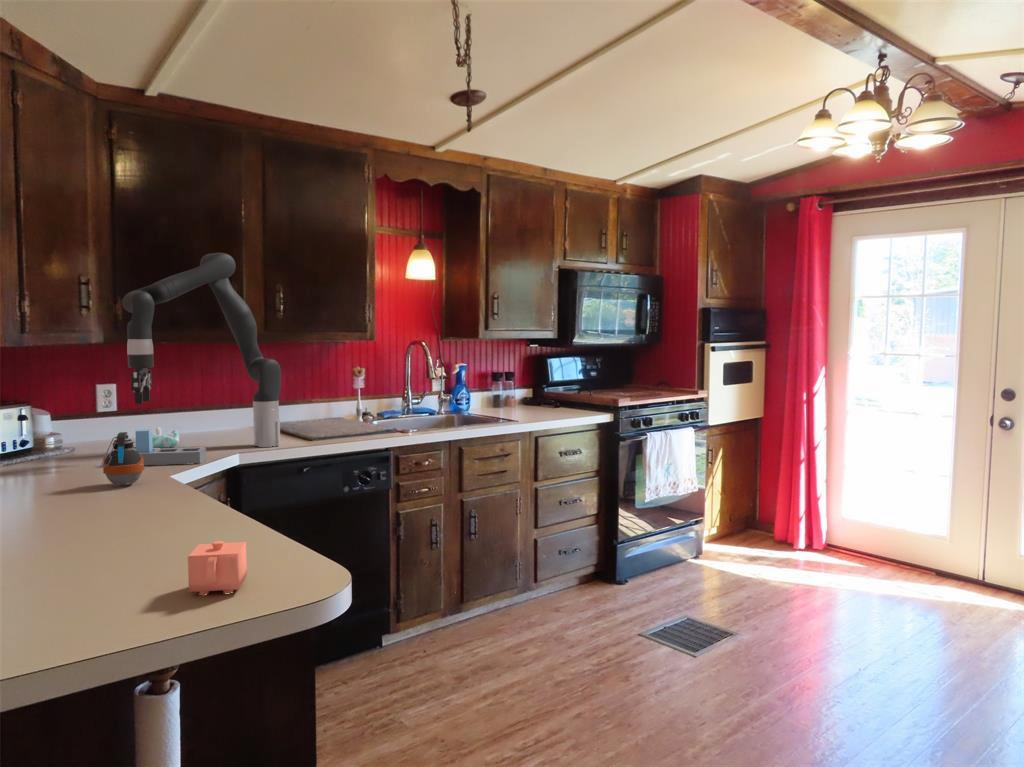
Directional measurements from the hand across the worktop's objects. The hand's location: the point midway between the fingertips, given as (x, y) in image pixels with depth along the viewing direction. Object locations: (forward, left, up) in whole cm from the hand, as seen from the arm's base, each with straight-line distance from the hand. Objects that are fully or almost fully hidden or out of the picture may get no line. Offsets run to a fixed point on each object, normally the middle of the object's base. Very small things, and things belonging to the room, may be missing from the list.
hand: (142, 402), depth 233 cm
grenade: (-4, +36, -20) cm, 42 cm away
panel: (-7, 0, -20) cm, 21 cm away
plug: (0, 0, -20) cm, 20 cm away
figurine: (+5, -38, -21) cm, 44 cm away
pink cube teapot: (-45, +127, -21) cm, 136 cm away
